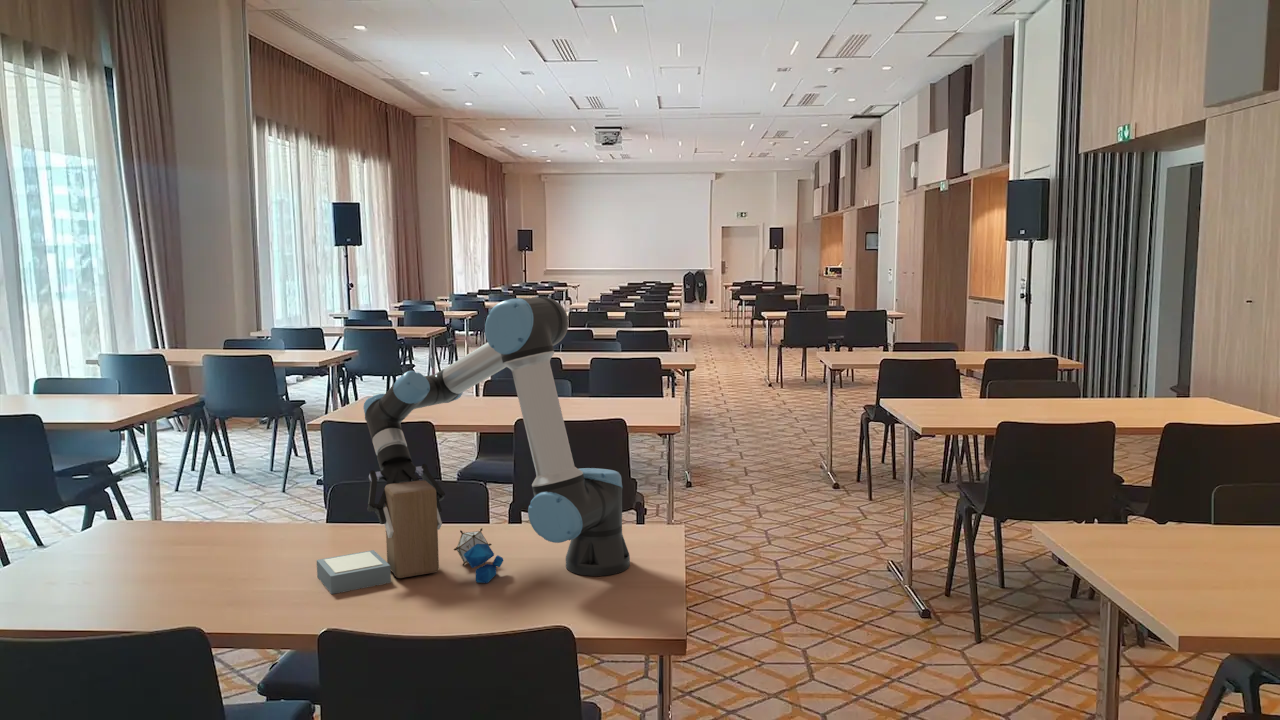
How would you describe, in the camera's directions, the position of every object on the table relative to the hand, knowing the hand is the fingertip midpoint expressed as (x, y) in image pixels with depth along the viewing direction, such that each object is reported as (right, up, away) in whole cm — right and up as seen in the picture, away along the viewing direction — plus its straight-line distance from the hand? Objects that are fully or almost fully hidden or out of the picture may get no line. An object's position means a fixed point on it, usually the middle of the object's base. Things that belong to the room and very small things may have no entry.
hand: (415, 530), depth 206 cm
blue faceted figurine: (+16, -11, -2) cm, 20 cm away
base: (-14, -11, -2) cm, 17 cm away
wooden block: (-1, -10, +4) cm, 11 cm away
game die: (+11, -10, +9) cm, 18 cm away
